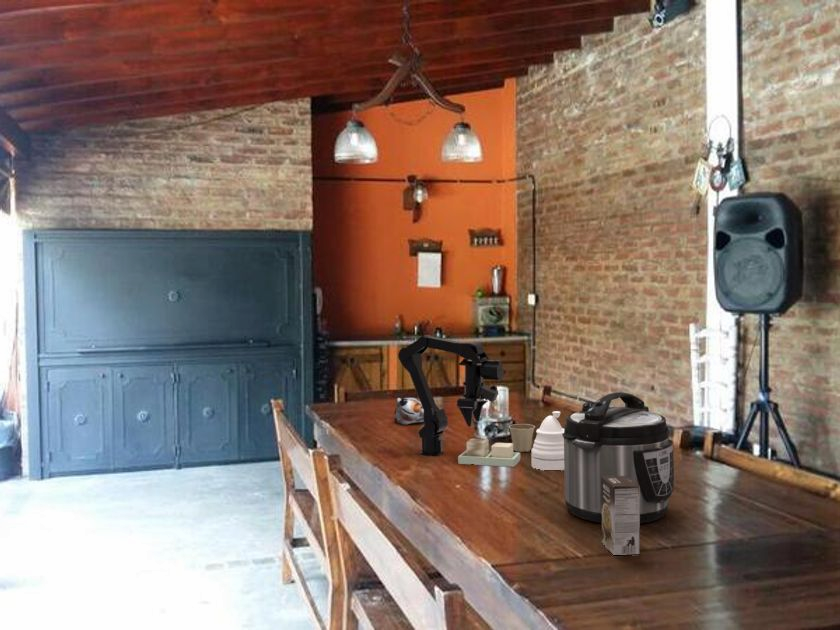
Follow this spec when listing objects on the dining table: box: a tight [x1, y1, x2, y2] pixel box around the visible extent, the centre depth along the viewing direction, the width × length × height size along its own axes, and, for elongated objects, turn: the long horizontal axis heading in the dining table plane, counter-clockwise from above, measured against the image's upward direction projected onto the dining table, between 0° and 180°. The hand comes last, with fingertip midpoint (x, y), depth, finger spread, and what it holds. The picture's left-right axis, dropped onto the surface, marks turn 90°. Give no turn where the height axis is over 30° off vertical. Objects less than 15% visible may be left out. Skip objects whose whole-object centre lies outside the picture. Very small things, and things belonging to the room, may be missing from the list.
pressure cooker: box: [562, 391, 675, 524], centre depth 219 cm, size 30×28×32 cm
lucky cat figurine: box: [393, 397, 424, 426], centre depth 353 cm, size 15×12×14 cm
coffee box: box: [601, 476, 641, 556], centre depth 191 cm, size 9×6×16 cm
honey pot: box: [530, 410, 564, 471], centre depth 272 cm, size 13×13×18 cm
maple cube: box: [466, 438, 490, 457], centre depth 281 cm, size 6×6×6 cm
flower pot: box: [508, 423, 536, 453], centre depth 297 cm, size 9×9×9 cm
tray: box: [457, 442, 521, 468], centre depth 280 cm, size 19×10×6 cm, turn 71°
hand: (473, 423), depth 287 cm, fingers open, 9 cm apart
